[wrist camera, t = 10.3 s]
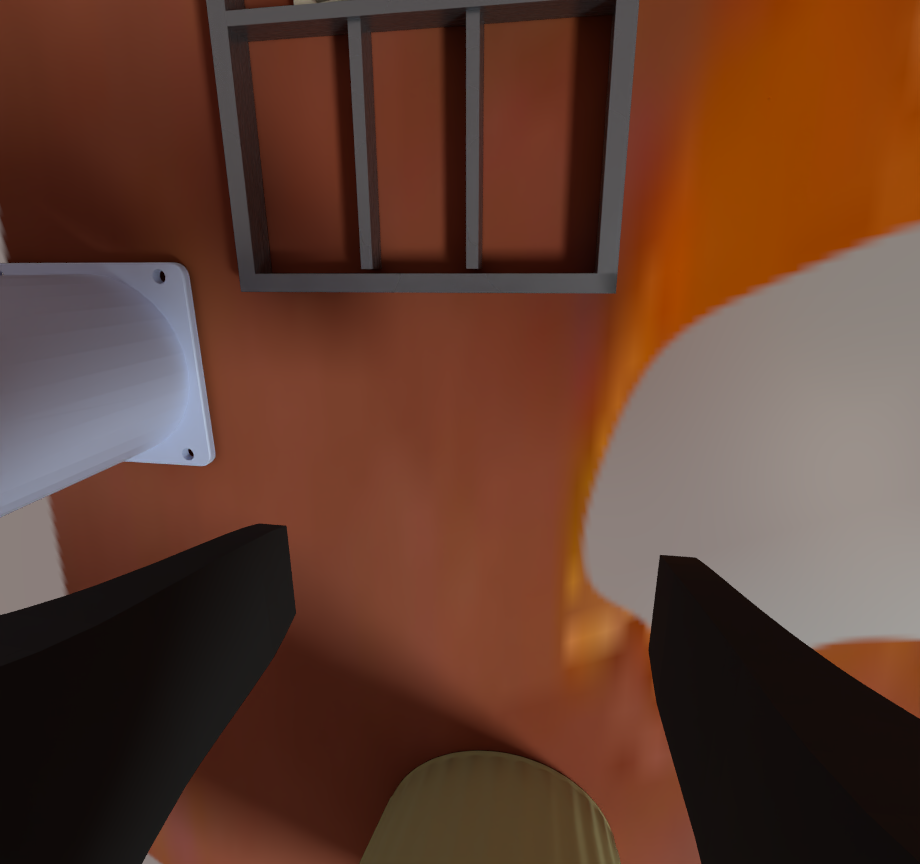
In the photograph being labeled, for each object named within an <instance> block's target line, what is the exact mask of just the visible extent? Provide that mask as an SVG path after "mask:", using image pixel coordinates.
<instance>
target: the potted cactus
mask: <svg viewBox="0 0 920 864" xmlns="http://www.w3.org/2000/svg"><path fill="white" fill-rule="evenodd" d="M359 864H621V862H620V858H619V854H618V850H617V849H616V845H615V841H614V837H613V833H612V832H611V829H610V826H609V824H608V822H607V820H606V819H605V817H604V815H603V813H602V812H601V810H600V809H599V807H598V806H597V805H596V803H595V802H594V801H593V800H592V799H591V798H590V797H589V796H588V794H587V793H586V792H585V791H583V790H582V789H581V788H580V787H579V786H577V785H576V784H575V783H574V782H572V781H571V780H570V779H568V778H567V777H565V776H564V775H562V774H560V773H559V772H557V771H555V770H553V769H551V768H550V767H548V766H545V765H543V764H541V763H538V762H536V761H533V760H530V759H527V758H524V757H521V756H517V755H512V754H508V753H502V752H494V751H464V752H456V753H451V754H447V755H444V756H440V757H437V758H434V759H432V760H430V761H428V762H426V763H424V764H422V765H420V766H418V767H417V768H416V769H414V770H413V771H412V772H411V773H409V774H408V775H407V776H406V777H405V778H404V779H403V780H402V782H401V783H400V784H399V786H398V787H397V789H396V790H395V792H394V794H393V796H391V797H390V799H389V801H388V804H387V806H386V808H385V810H384V812H383V814H382V816H381V818H380V821H379V823H378V825H377V827H376V829H375V831H374V833H373V835H372V837H371V840H370V842H369V844H368V846H367V848H366V850H365V852H364V854H363V857H362V859H361V861H360V863H359Z"/></svg>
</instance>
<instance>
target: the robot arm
mask: <svg viewBox="0 0 920 864" xmlns="http://www.w3.org/2000/svg"><path fill="white" fill-rule="evenodd" d="M161 271H163V272H164V274H165V281H164V282H163V281H162V280H161V278H160V272H161ZM2 273H3V275H4V276H2ZM188 449H190V450H191V451H193V454H194V457H193V456H191V455H190V454H189V452H188ZM214 458H215V447H214V441H213V434H212V427H211V420H210V413H209V407H208V400H207V393H206V386H205V379H204V373H203V366H202V359H201V352H200V345H199V338H198V332H197V325H196V318H195V311H194V304H193V298H192V291H191V284H190V277H189V274H188V271H187V269H186V268H185V267H184V266H183V265H181V264H180V263H176V262H145V263H0V517H2V516H5V515H7V514H9V513H11V512H13V511H15V510H18V509H20V508H22V507H24V506H26V505H29V504H31V503H33V502H35V501H38V500H40V499H42V498H44V497H46V496H48V495H51V494H53V493H55V492H57V491H59V490H62V489H64V488H66V487H68V486H70V485H73V484H75V483H77V482H79V481H81V480H84V479H86V478H88V477H90V476H92V475H95V474H97V473H99V472H101V471H103V470H105V469H108V468H110V467H112V466H114V465H116V464H119V463H121V462H123V461H127V462H143V463H160V464H176V465H193V466H205V465H207V464H209V463H211V462H212V461H213V460H214ZM295 614H296V609H295V600H294V590H293V581H292V572H291V563H290V554H289V545H288V536H287V527H286V526H283V525H270V524H255V525H252V526H248V527H245V528H242V529H239V530H236V531H233V532H231V533H228V534H225V535H223V536H220V537H218V538H215V539H213V540H210V541H208V542H205V543H203V544H200V545H198V546H195V547H193V548H190V549H188V550H186V551H183V552H181V553H178V554H176V555H173V556H171V557H169V558H166V559H164V560H161V561H159V562H156V563H154V564H151V565H148V566H146V567H143V568H141V569H138V570H135V571H133V572H130V573H127V574H125V575H122V576H120V577H117V578H114V579H112V580H109V581H106V582H104V583H101V584H98V585H96V586H93V587H90V588H87V589H84V590H81V591H78V592H75V593H72V594H69V595H66V596H63V597H60V598H57V599H54V600H51V601H47V602H44V603H41V604H37V605H34V606H31V607H28V608H24V609H21V610H17V611H14V612H10V613H7V614H3V615H0V864H142V863H143V861H144V859H145V857H146V855H147V853H148V851H149V850H150V848H151V846H152V844H153V842H154V841H155V839H156V837H157V835H158V834H159V832H160V830H161V828H162V827H163V825H164V823H165V821H166V820H167V818H168V816H169V814H170V813H171V811H172V809H173V807H174V806H175V804H176V802H177V800H178V798H179V797H180V795H181V793H182V791H183V790H184V788H185V786H186V785H187V783H188V782H189V780H190V779H191V777H192V776H193V774H194V772H195V771H196V769H197V768H198V766H199V765H200V763H201V762H202V760H203V759H204V757H205V756H206V754H207V753H208V752H209V750H210V749H211V747H212V746H213V744H214V743H215V742H216V740H217V739H218V737H219V736H220V734H221V733H222V732H223V730H224V729H225V727H226V726H227V724H228V723H229V722H230V720H231V719H232V717H233V716H234V714H235V713H236V712H237V710H238V709H239V707H240V706H241V704H242V703H243V702H244V700H245V699H246V697H247V696H248V694H249V693H250V691H251V690H252V689H253V687H254V686H255V684H256V683H257V681H258V680H259V678H260V677H261V675H262V674H263V672H264V671H265V670H266V668H267V667H268V665H269V664H270V662H271V661H272V659H273V658H274V656H275V654H276V652H277V650H278V648H279V646H280V644H281V643H282V641H283V639H284V637H285V635H286V633H287V631H288V629H289V627H290V624H291V622H292V620H293V618H294V616H295ZM649 657H650V664H651V670H652V677H653V684H654V690H655V696H656V702H657V706H658V710H659V713H660V717H661V721H662V724H663V728H664V731H665V735H666V738H667V742H668V745H669V749H670V752H671V756H672V759H673V763H674V766H675V770H676V773H677V777H678V780H679V784H680V787H681V791H682V794H683V798H684V801H685V804H686V808H687V811H688V815H689V818H690V822H691V825H692V829H693V832H694V836H695V839H696V843H697V847H698V851H699V856H700V860H701V864H920V719H919V718H917V717H916V716H914V715H912V714H911V713H909V712H907V711H906V710H904V709H903V708H901V707H899V706H898V705H896V704H895V703H893V702H891V701H890V700H888V699H886V698H885V697H883V696H882V695H880V694H878V693H877V692H875V691H874V690H872V689H870V688H869V687H867V686H866V685H864V684H862V683H861V682H859V681H858V680H856V679H855V678H853V677H852V676H850V675H849V674H847V673H846V672H844V671H843V670H841V669H840V668H838V667H837V666H836V665H834V664H833V663H831V662H830V661H829V660H827V659H826V658H824V657H823V656H821V655H820V654H819V653H817V652H816V651H814V650H813V649H812V648H810V647H809V646H807V645H806V644H805V643H803V642H802V641H801V640H799V639H798V638H797V637H795V636H794V635H793V634H791V633H790V632H789V631H787V630H786V629H785V628H783V627H782V626H781V625H779V624H778V623H777V622H776V621H774V620H773V619H772V618H770V617H769V616H768V615H767V614H765V613H764V612H763V611H762V610H760V609H759V608H758V607H757V606H755V605H754V604H753V603H752V602H750V601H749V600H748V599H747V598H745V597H744V596H743V595H742V594H741V593H739V592H738V591H737V590H736V589H734V588H733V587H732V586H731V585H730V584H729V583H727V582H726V581H725V580H724V579H723V578H721V577H720V576H719V575H718V574H716V573H715V572H714V571H713V570H711V569H710V568H709V567H708V566H707V565H705V564H704V563H702V562H701V561H700V560H698V559H697V558H693V557H680V556H667V555H660V560H659V568H658V576H657V585H656V592H655V601H654V609H653V619H652V626H651V634H650V642H649Z"/></svg>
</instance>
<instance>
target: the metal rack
mask: <svg viewBox="0 0 920 864" xmlns="http://www.w3.org/2000/svg"><path fill="white" fill-rule="evenodd" d="M206 4H207V12H208V20H209V28H210V37H211V45H212V53H213V62H214V70H215V78H216V87H217V95H218V103H219V112H220V120H221V128H222V136H223V145H224V153H225V161H226V170H227V178H228V186H229V195H230V203H231V211H232V220H233V228H234V236H235V244H236V253H237V261H238V269H239V278H240V286H241V292H437V293H616V283H617V270H618V258H619V245H620V233H621V220H622V208H623V195H624V183H625V170H626V158H627V145H628V133H629V120H630V108H631V95H632V83H633V70H634V58H635V45H636V33H637V20H638V8H639V0H347V1H336V2H324V3H312V4H301V5H289V6H277V7H266V8H254V9H245V6H244V0H206ZM610 14H612V26H611V41H610V56H609V71H608V85H607V100H606V115H605V129H604V144H603V159H602V174H601V188H600V203H599V218H598V232H597V247H596V262H595V273H272V269H271V259H270V249H269V239H268V230H267V220H266V210H265V201H264V191H263V181H262V171H261V162H260V152H259V142H258V133H257V123H256V113H255V103H254V94H253V84H252V74H251V64H250V55H249V45H248V42H250V41H264V40H277V39H290V38H304V37H317V36H330V35H344V34H348V39H349V57H350V75H351V93H352V111H353V129H354V147H355V165H356V183H357V201H358V219H359V237H360V255H361V269H382V268H381V246H380V224H379V201H378V179H377V157H376V134H375V112H374V90H373V67H372V45H371V32H384V31H397V30H410V29H423V28H437V27H450V26H463V25H466V269H482V214H483V93H484V24H490V23H503V22H517V21H530V20H543V19H557V18H570V17H583V16H597V15H610Z"/></svg>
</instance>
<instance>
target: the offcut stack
mask: <svg viewBox="0 0 920 864" xmlns="http://www.w3.org/2000/svg"><path fill="white" fill-rule="evenodd" d="M293 1H294V5H301V4H312V3H324V2H336V1H347V0H293Z"/></svg>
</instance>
